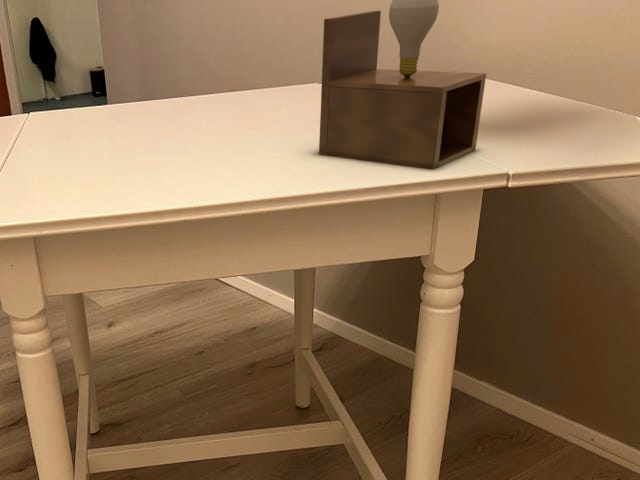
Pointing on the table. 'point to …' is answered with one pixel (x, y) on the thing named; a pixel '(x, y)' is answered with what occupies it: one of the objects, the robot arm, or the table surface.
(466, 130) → the shelf
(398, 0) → the light bulb
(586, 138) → the table surface
